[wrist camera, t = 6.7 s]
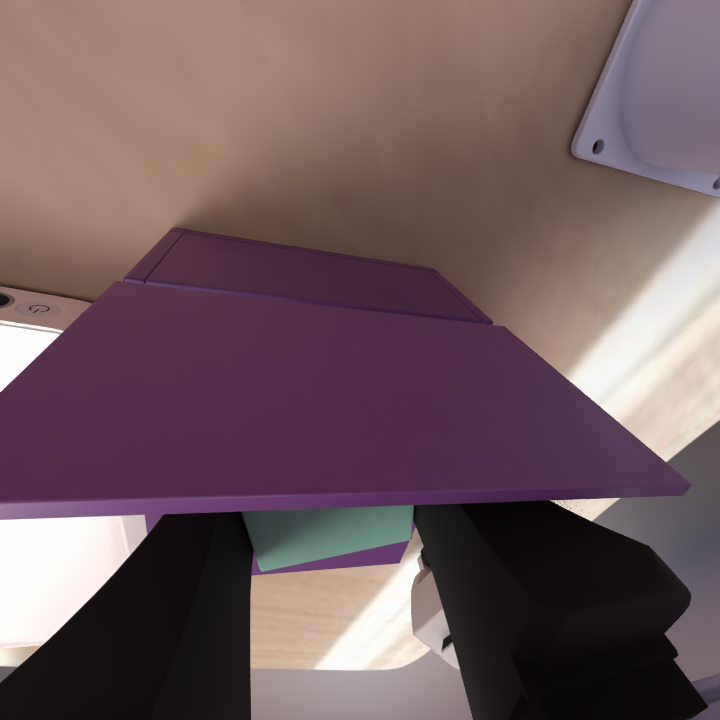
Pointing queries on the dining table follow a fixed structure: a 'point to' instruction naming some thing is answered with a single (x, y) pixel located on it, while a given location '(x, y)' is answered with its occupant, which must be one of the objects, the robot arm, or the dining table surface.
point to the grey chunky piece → (430, 614)
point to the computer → (50, 535)
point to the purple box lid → (298, 414)
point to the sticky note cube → (323, 532)
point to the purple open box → (305, 285)
